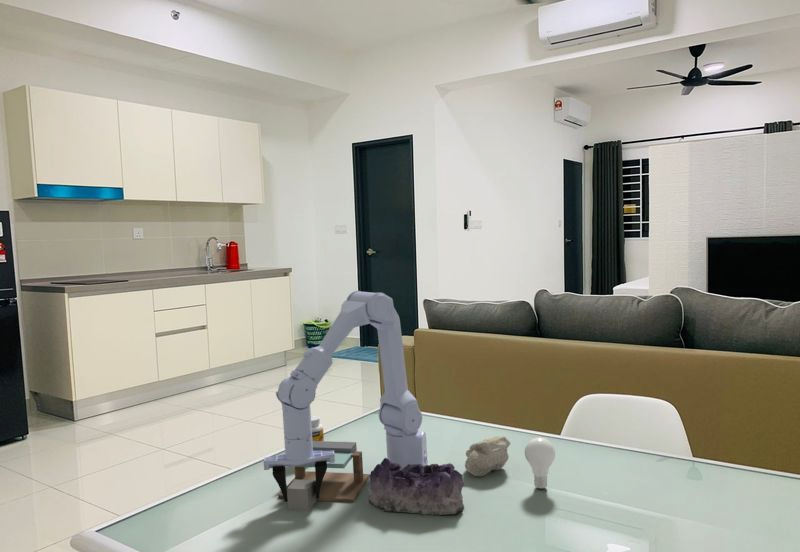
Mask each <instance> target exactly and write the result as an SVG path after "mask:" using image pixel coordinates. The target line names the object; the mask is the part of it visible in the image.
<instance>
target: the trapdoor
mask: <svg viewBox="0 0 800 552" xmlns="http://www.w3.org/2000/svg"><path fill="white" fill-rule="evenodd" d="M312 443H313V451H334V454H335V463H330V462H327V469H342V470H344V469H345V468H346V467H347V465H348V464H349V462H351V460H353V454H354V453H355V451H358V450H357V449H358V448H357V442H356V441H355V442H354V441H331V440H330V441H328V440H327V441H326V440H324V441H312ZM296 467H305V468H315V464H306V465H296Z"/></svg>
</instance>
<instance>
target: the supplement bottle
mask: <svg viewBox="0 0 800 552" xmlns="http://www.w3.org/2000/svg"><path fill="white" fill-rule="evenodd" d="M311 427H312V441H325V438H324V437H325V436H324V425H323V424H322V423H321V418H320V416H318V415H311Z"/></svg>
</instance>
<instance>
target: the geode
mask: <svg viewBox="0 0 800 552" xmlns="http://www.w3.org/2000/svg"><path fill="white" fill-rule="evenodd" d="M369 474H370V477H369V489H368V493H369V499H368V503H369V504H370V505H371V506H372V507H374V508H376V509H378V510H380V511H381V512H398V513H403V512H404V513H411V514H423V515H425V516H428V515H434V516H435V515H455V514H457V513H458V514H460V513H463V512H464V510H465V505H464V500H463V494H462V492H463V491H462V490H463V488H464V487H465V480H464V477H463V474H462V473H460V472H459V471H458V470H457V469H455V465H454V464H452V463H444V464H442V465H439V464H438V463H431V464H430V465H429V464H427V465H425V466H423V465H421V464H415V465H413V464H412V465H410V464H408V465H407V466H406V467H404V468H402V467H401V465H400V464H399V463H396V462H394V463H392V462H391V461H389V460H388V459H387V457H384V459H383V460H382V461H381V462H380V463H378V464H376V465H375V467H374V468H373V470H371V471H370V473H369Z"/></svg>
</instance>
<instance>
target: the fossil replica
mask: <svg viewBox="0 0 800 552" xmlns="http://www.w3.org/2000/svg"><path fill="white" fill-rule="evenodd" d="M510 445H511V441H510V440H509V439H508V438H507V437H506V436H505V435H502V436H494V437H491V438H485V439H483V440H481V441H479V442H476V443H475V442H474V443H472V444H471V445H470V446H469V449H467V450H466V451H465V456H466V457H467V458H466V460H465V463H464V467H465V470H466V471H467V472H468V473H470V474H471V475H473V476H475V477H478V478H479V477H485V476H486V475H487V474H488V473H490V472H491V471H499V470H501V469H502V468H503V467H504V466H505V465H506V463H507V462H508V461H509V454H508V448H509V446H510Z"/></svg>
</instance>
